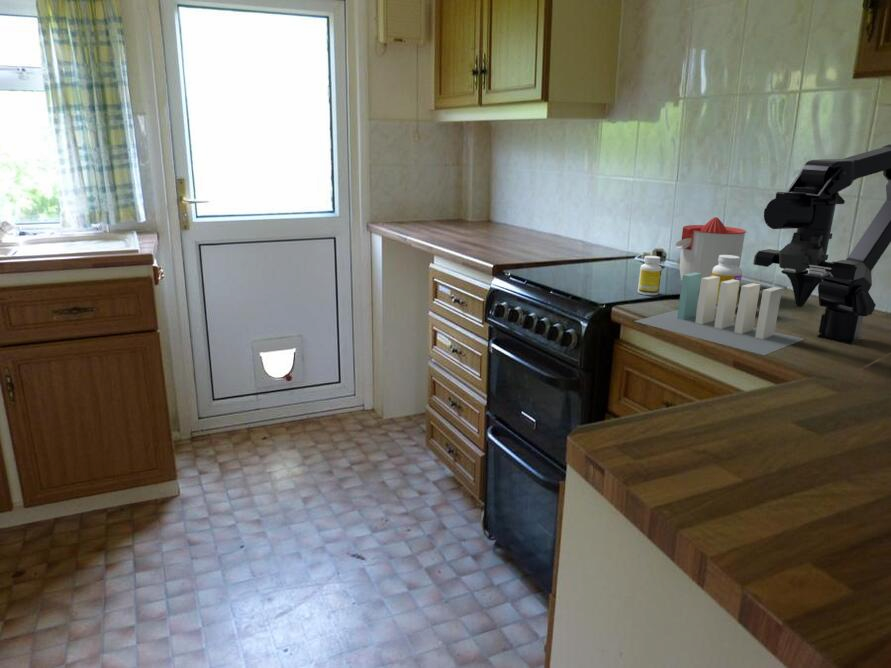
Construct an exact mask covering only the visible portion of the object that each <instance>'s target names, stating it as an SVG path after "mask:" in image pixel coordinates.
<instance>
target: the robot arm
mask: <svg viewBox="0 0 891 668" xmlns="http://www.w3.org/2000/svg"><path fill="white" fill-rule="evenodd" d="M880 172H882V174H883V176H884V177H885V179H886V180H887V183H886V184H885V185H886V186H885V193H886V199H885V201H884V203H883V204H882V206H881V207H880V209H879V210H878V212H877V213H876V214H875V216H874V218H873V220H872V221H870V224H869V225H868V227H867V228H866V229H865V232H863V234H862V236H861V237H860V239H859V240H858V242H857V243H856V245H855V246H854V248H853V249H852V250H851V252H850V254H849V255H848V256H847V258H846V259H841V260H838V261H837V260H836V261H832V262H831V261H828V260H829V259H828V258H829V254H827V252H828V248H829V242H830V240H831V239H832V238H833V233H832V232H831V231H832V226H833V220H834V215H835V209H836V205H844V204H845V202H846V201H845V199H844V198H843V197H842V196H841V195H840V193H839V192H841V191H843V190H845V189H846V188H848V187H850V186H852V184H853V182H854V181H856V180H858V179H860V178H864V177H866V176H870V175H874V174H877V173H880ZM763 219H764V223H765V224H766V226H768V227H769V228H770V229H772V230H786V229H787V230H788V229H789V230H790V229H796V231H795V232H793V234H792V237H791V241H790V243H788V244H786V245H784V247H783V248H782V249H780V250H778V249H770V248H768V249H767V248H766V249H762V250H758V251H756V253H755V255H754V258H753V265H755V266H759V267H765V268H766V267H770V266H771V265H773V264H777V265H779V266H778V267H779V268H781V269H782V270H781V273H782V274H783V275H786V276H787V278H788V279H789V280H790V283H791V287H792V290H793V291H792V292H793V296H794V300H795V306H796V307H798V308H803V307H804V305H805V304H806V302H807V301H808V299H809V298H810V297H811V295H812V294H813V292H814V291H815V290H816V288H817V291H818V293H817V294H818V304H819V307H823V308H825V311H824V313H823V314H821V318H820V321H819V322H820V323H819V329H818V334H817V335H816V338H819V339H823V340H828V341H833V342H837V343H840V344H841V343H842V344H846V345H852V344H854V343H857V342H859V341H861V340H862V339H863V338H862V337H860V334H861V329H862V324H863V319H864V317H869V316H870V315H872V314H873V313H874V310H875V308H876V303H875V301H874V299H873V297H872V296H871V294H870V292H869V291H870V290H871V288H872V286H873V283H872V282H873V281H872V279H873V278H872V271H873V270H874V268H875V266H876V264H877V263H878V262H879V260H880V259H881V257H882V256H883V254H884V252H885V251H886V250H887V248H888V247H889V246H890V244H891V144H887V145H884V146H882V147H879V148H876V149H872V150H868V151H865V152H861V153H858V154H855V155H851V156H848V157H844V158H831V159H830V158H828V159H827V158H825V159H823V158H822V159H811V160H808V161H807V162H806V163H804V167H803V168H802V169H801V171H800V172H799V173H798V174H797V176H796V177H795V179H794V180H793V181H792V183H791V184H790V185H789V187H788V188H787V190H786V191H777V192H775V197H774V198H773V199H771V200H770V201H769V202H768V203H767V205H766V207H765V208H764V212H763Z"/></svg>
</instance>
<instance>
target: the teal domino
mask: <svg viewBox="0 0 891 668" xmlns="http://www.w3.org/2000/svg"><path fill="white" fill-rule="evenodd" d="M700 281H701V273H690V274H685V275H683V277H682V283H681V285H680V286H681V287H680V295H679V301H678V308H677V310H678V316H677V318H678V319H682V320H685V319H688V318H692V317H696V313H697V306H698V299H699V289H700Z"/></svg>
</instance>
